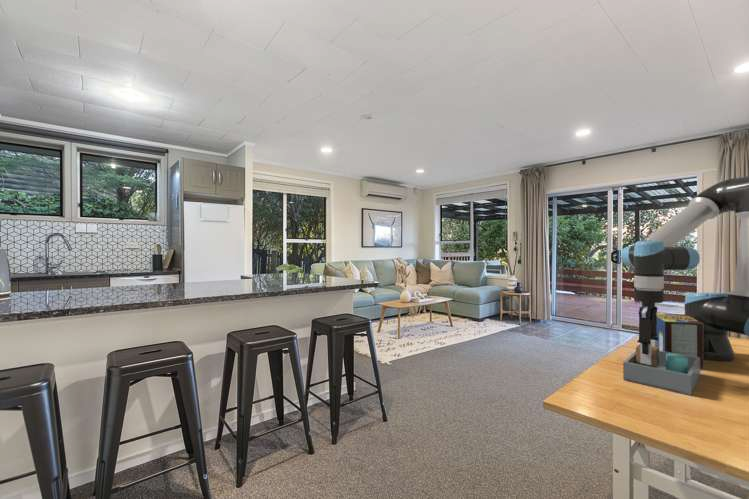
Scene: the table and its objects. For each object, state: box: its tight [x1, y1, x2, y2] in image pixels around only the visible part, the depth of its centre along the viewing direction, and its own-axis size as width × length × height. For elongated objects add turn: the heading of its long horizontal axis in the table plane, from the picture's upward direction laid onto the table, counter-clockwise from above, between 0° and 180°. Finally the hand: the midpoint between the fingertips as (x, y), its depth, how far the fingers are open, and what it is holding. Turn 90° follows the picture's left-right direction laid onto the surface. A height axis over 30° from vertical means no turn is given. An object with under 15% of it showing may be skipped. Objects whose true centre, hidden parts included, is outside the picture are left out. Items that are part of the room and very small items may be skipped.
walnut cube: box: [635, 343, 659, 367], centre depth 113 cm, size 5×5×5 cm
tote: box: [622, 350, 701, 397], centre depth 110 cm, size 22×16×6 cm
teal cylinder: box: [666, 353, 688, 374], centre depth 107 cm, size 5×5×7 cm
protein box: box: [655, 312, 704, 370], centre depth 125 cm, size 10×15×16 cm
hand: (647, 361), depth 113 cm, fingers closed on walnut cube, 5 cm apart
